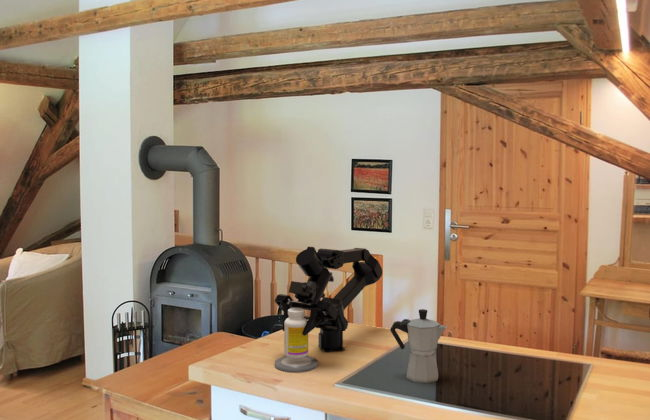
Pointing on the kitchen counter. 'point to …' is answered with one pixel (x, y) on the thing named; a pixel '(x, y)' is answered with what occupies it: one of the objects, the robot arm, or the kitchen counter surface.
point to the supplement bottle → (295, 334)
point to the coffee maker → (420, 346)
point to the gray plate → (296, 364)
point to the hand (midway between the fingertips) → (293, 332)
